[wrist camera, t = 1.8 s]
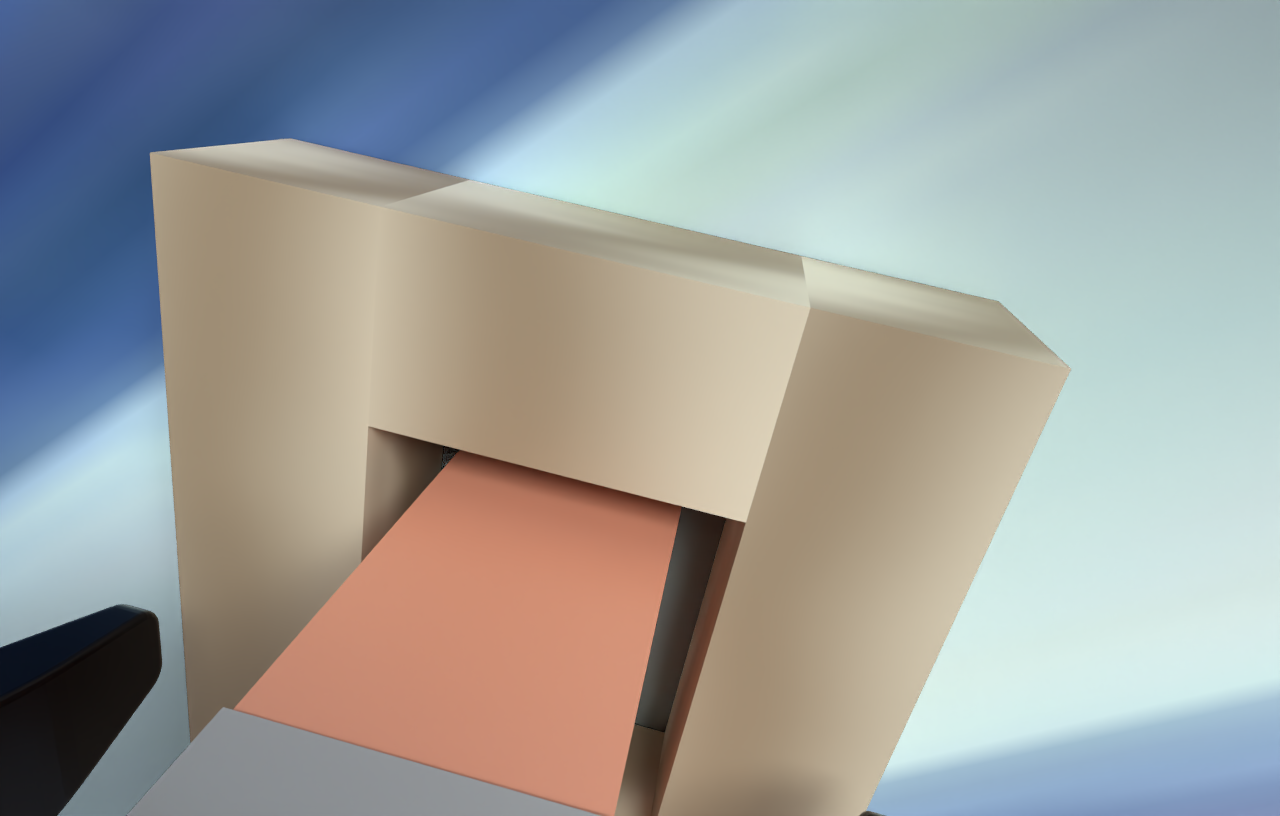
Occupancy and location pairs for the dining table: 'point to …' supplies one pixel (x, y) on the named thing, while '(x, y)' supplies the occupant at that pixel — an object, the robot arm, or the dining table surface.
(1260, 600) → the dining table surface
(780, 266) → the socket
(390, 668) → the block
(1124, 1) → the dining table surface
